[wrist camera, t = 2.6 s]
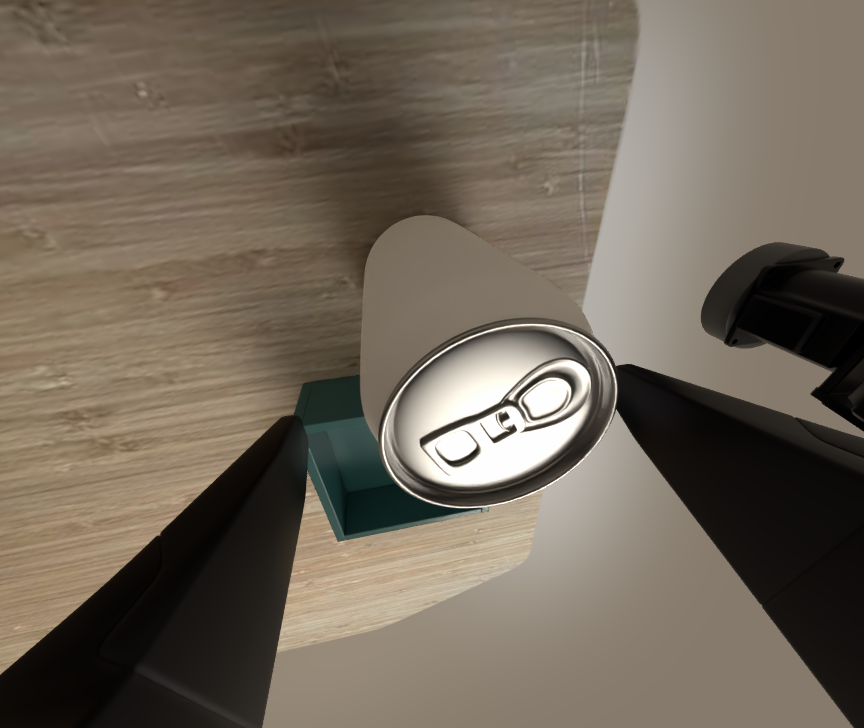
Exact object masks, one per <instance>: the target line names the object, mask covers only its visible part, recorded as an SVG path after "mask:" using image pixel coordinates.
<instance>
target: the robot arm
mask: <svg viewBox="0 0 864 728" xmlns="http://www.w3.org/2000/svg"><path fill="white" fill-rule="evenodd" d="M843 263H844V258H841V257H825V258H817V259H809V260H801V261H793V262H784V263H776V264H769V265H766V266H765V267H763V268H762V269H761V271H760V273H759V274H758V276H757V278H756V280H755V282H754V284H753V286H752V288H751V290H750V292H749V294H748V296H747V298H746V300H745V301H744V303H743V305H742V307H741V309H740V311H739V313H738V315H737V317H736V319H735V321H734V323H733V325H732V327H731V328H730V330H729V332H728V334H727V336H726V338H725V340H724V343H725V345H728V346H730V347H734V346H740V345H747V344H753V343H760V342H765V343H768V344H770V345H772V346H774V347H777V348H779V349H781V350H784V351H786V352H788V353H791V354H793V355H795V356H797V357H800V358H802V359H804V360H806V361H809V362H811V363H813V364H815V365H818V366H820V367H822V368H825V369H827V370H829V371H831V372H832V374H831V375H830V376H829V377H828V378H827V379H826V380H825V381H824V382H823V383H822V384H821V385H820V386H819V387H816V388H815V390H813V391H812V393H811V395H812V396H814V397H815V398H817V399H818V400H820V401H821V402H822V404H823V405H825V406H826V407H828V408H829V409H831V410H832V411H834V412H835V413H837V414H838V415H840V416H841V417H843V418H844V419H846V420H847V421H849V422H850V423H852V424H853V425H855V426H856V427H858V428H859V429H861V430H862V431H864V279H861V278H857V277H853V276H848V275H844V274H839V273H837V272H838V271H839V269H840V267H841V266H842V264H843ZM616 369H617V372H618V377H619V398H618V404H617V408H616V409H617V411H618V412H619V414H620V416H621V417H622V419H623V421H624V422H625V424H626V425H627V427H628V429H629V430H630V432H631V433H632V435H633V437H634V438H635V440H636V441H637V442H638V444H639V445H640V447H641V448H642V449H643V450H644V452H645V453H646V454H647V456H648V457H649V458H650V460H651V461H652V462H653V464H654V465H655V466H656V468H657V469H658V470H659V471H660V473H661V474H662V475H663V477H664V478H665V479H666V481H667V482H668V483H669V485H670V486H671V487H672V489H673V490H674V491H675V493H676V494H677V495H678V497H679V498H680V499H681V501H682V502H683V503H684V504H685V506H686V507H687V508H688V510H689V511H690V512H691V514H692V515H693V516H694V518H695V519H696V520H697V522H698V523H699V524H700V525H701V527H702V528H703V529H704V531H705V532H706V533H707V535H708V536H709V537H710V539H711V540H712V541H713V543H714V544H715V545H716V547H717V548H718V549H719V550H720V552H721V553H722V554H723V556H724V557H725V558H726V560H727V561H728V562H729V564H730V565H731V566H732V568H733V569H734V570H735V572H736V573H737V574H738V576H739V577H740V578H741V580H742V581H743V582H744V583H745V585H746V586H747V587H748V589H749V590H750V591H751V593H752V594H753V595H754V596H755V598H756V599H757V601H758V602H759V603H760V604H761V605H762V607H763V609H764V610H765V612H766V613H767V614H768V616H769V617H770V618H771V620H772V621H773V622H774V623H775V624H776V626H777V627H778V629H779V630H780V631H781V633H782V634H783V635H784V637H785V638H786V639H787V641H788V642H789V643H790V644H791V646H792V647H793V649H794V650H795V651H796V652H797V653H798V655H799V656H800V658H801V659H802V660H803V661H804V663H805V664H806V666H807V667H808V668H809V670H810V671H811V672H812V673H813V675H814V676H815V678H816V679H817V680H818V681H819V683H820V684H821V685H822V687H823V688H824V689H825V691H826V692H827V693H828V695H829V696H830V697H831V699H832V700H833V701H834V702H835V704H836V705H837V707H838V708H839V709H840V710H841V712H842V713H843V714H844V716H845V717H846V718H847V720H848V721H849V722H850V724H851V725H852V726H853V727H854V728H864V438H861V437H857V436H854V435H851V434H847V433H844V432H841V431H838V430H834V429H831V428H828V427H825V426H822V425H818V424H816V423H812V422H809V421H806V420H803V419H799V418H794V417H792V416H790V415H787V414H784V413H781V412H778V411H775V410H772V409H769V408H766V407H763V406H759V405H756V404H753V403H750V402H747V401H744V400H741V399H738V398H734V397H731V396H728V395H725V394H722V393H719V392H716V391H713V390H710V389H707V388H703V387H700V386H697V385H694V384H691V383H688V382H685V381H682V380H678V379H675V378H672V377H669V376H666V375H663V374H660V373H657V372H654V371H651V370H648V369H644V368H641V367H638V366H635V365H632V364H625V365H618V366H616ZM308 451H309V440H308V436H307V433H306V431H305V428H304V426H303V423H302V420H301V418H300V417H299V416H298V415H290V416H284V417H281V418H280V419H279V420H278V421H277V422H276V423H275V424H274V425H273V426H272V427H270V428H269V429H268V430H267V431H266V432H265V433H264V434H263V435H262V436H261V437H260V438H259V439H258V440H257V441H256V442H255V443H254V444H253V445H252V446H251V447H250V448H248V449H247V450H246V451H245V452H244V453H243V454H242V455H241V456H240V457H239V458H238V459H237V460H236V461H235V462H234V463H233V464H232V465H231V466H230V467H229V468H228V469H226V470H225V471H224V472H223V473H222V474H221V475H220V476H219V477H218V478H217V479H216V480H215V481H214V482H213V483H212V484H211V485H210V486H209V487H208V488H207V489H206V490H204V491H203V492H202V493H201V494H200V495H199V496H198V497H197V498H196V499H195V500H194V501H193V502H192V503H191V504H190V505H189V506H188V507H187V508H186V509H185V510H184V511H182V512H181V513H180V514H179V515H178V516H177V517H176V518H175V519H174V520H173V521H172V522H171V523H170V524H169V525H168V526H167V527H166V528H165V529H164V530H163V531H162V532H161V534H160V536H156V537H155V538H154V539H153V540H152V541H151V542H150V543H149V544H148V545H147V546H146V547H145V548H144V549H142V550H141V551H140V552H139V553H138V554H137V555H136V556H135V557H134V558H133V559H132V560H131V561H130V562H129V563H127V564H126V565H125V566H124V567H123V568H122V569H121V570H120V571H119V572H118V573H117V574H116V575H115V576H113V577H112V578H111V579H110V580H109V581H108V582H107V583H106V584H105V585H104V586H102V587H101V588H100V589H99V590H98V591H97V592H96V593H94V594H93V595H92V596H91V597H90V598H89V599H88V600H86V601H85V602H84V603H83V604H82V605H81V606H80V607H78V608H77V609H76V610H75V611H74V612H73V613H72V614H71V615H69V616H68V617H67V618H66V619H65V620H64V621H62V622H61V623H60V624H59V625H58V626H57V627H55V628H54V629H53V630H52V631H51V632H50V633H48V634H47V635H46V636H45V637H44V638H43V639H41V640H40V641H39V642H38V643H37V644H36V645H34V646H33V647H32V648H31V649H30V650H29V651H28V652H26V653H25V654H24V655H23V656H22V657H21V658H19V659H18V660H17V661H16V662H15V663H14V664H12V665H11V666H10V667H9V668H8V669H7V670H5V671H4V672H3V673H2V674H1V675H0V728H262V725H263V720H264V715H265V709H266V704H267V699H268V694H269V688H270V683H271V678H272V672H273V667H274V662H275V657H276V651H277V646H278V641H279V636H280V630H281V625H282V620H283V614H284V609H285V604H286V598H287V593H288V588H289V583H290V577H291V572H292V567H293V561H294V556H295V551H296V545H297V540H298V535H299V530H300V524H301V519H302V514H303V508H304V502H305V494H306V481H307V466H308Z"/></svg>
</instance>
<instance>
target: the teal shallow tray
mask: <svg viewBox="0 0 864 728" xmlns="http://www.w3.org/2000/svg"><path fill="white" fill-rule="evenodd" d="M294 415H298V416H299V417H300V418H301V420H302V423H303V426H304V428H305V431H306V433H307V436H308V440H309V451H308V466H307V470H308V473H309V475H310V477H311V480H312V482H313V484H314V487H315V489H316V491H317V494H318V496H319V498H320V501H321V503H322V505H323V508H324V510H325V512H326V515H327V517H328V519H329V522H330V524H331V527H332V529H333V531H334V534H335V536H336V538H337V541H338V542H339V541H344V540H349V539H354V538H359V537H364V536H369V535H374V534H379V533H384V532H389V531H394V530H399V529H404V528H409V527H414V526H419V525H424V524H429V523H434V522H439V521H443V520H448V519H453V518H458V517H463V516H468V515H473V514H478V513H481V512H482V513H483V512H488V511H489V507H481V508H451V507H444V506H439V505H434V504H431V503H428V502H425V501H422V500H420V499H418V498H416V497H414V496H412V495H410V494H409V493H407V492H406V491H404V490H403V489H402V488H400V487H399V486H398V485H397V484H396V483H395V482H394V481H393V479H392V478H391V477H390V475H389V474H388V472H387V471H386V469H385V467H384V465H383V463H382V460H381V457H380V453H379V447H378V441H377V440H376V439H375V437H374V435H373V434H372V432H371V430H370V428H369V426H368V424H367V422H366V419H365V416H364V412H363V408H362V402H361V394H360V376H354V377H347V378H340V379H333V380H326V381H319V382H312V383H305V384H303V386H302V389H301V393H300V396H299V399H298V403H297V406H296V409H295V412H294Z"/></svg>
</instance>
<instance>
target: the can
mask: <svg viewBox="0 0 864 728" xmlns="http://www.w3.org/2000/svg"><path fill="white" fill-rule="evenodd" d="M360 394H361V402H362V408H363V412H364V416H365V419H366V422H367V424H368V426H369V428H370V430H371V432H372V434H373V435H374V437H375V439H376V440H377V441H378V447H379V453H380V457H381V460H382V463H383V465H384V467H385V469H386V471H387V472H388V474H389V475H390V477H391V478H392V479H393V481H394V482H395V483H396V484H397V485H398V486H399V487H400V488H402V489H403V490H404V491H406V492H407V493H409V494H410V495H412V496H414V497H416V498H418V499H420V500H422V501H425V502H428V503H431V504H434V505H439V506H444V507H451V508H481V507H489V506H495V505H500V504H504V503H508V502H511V501H514V500H518V499H520V498H523V497H526V496H528V495H531V494H533V493H535V492H537V491H540V490H542V489H543V488H545V487H547V486H549V485H551V484H553V483H554V482H556V481H557V480H559V479H560V478H562V477H563V476H565V475H566V474H567V473H569V472H570V471H571V470H573V469H574V468H575V467H576V466H578V465H579V464H580V463H581V462H582V461H583V460H584V459H585V458H586V457H587V456H588V455H589V454H590V453H591V452H592V450H593V449H594V448H595V447H596V446H597V445H598V443H599V442H600V440H601V439H602V438H603V436H604V435H605V433H606V431H607V429H608V428H609V426H610V424H611V421H612V419H613V417H614V414H615V411H616V408H617V404H618V398H619V377H618V372H617V369H616V366H615V363H614V361H613V359H612V357H611V355H610V354H609V352H608V351H607V349H606V348H605V347H604V346H603V345H602V344H601V343H600V342H599V341H598V340H597V339H596V338H595V337H594V335H593V333H592V330H591V327H590V325H589V323H588V321H587V319H586V317H585V315H584V313H583V312H582V311H581V309H580V308H579V307H578V305H577V304H576V303H575V302H574V301H573V300H572V299H571V298H570V297H569V296H568V295H567V294H566V293H564V292H563V291H562V290H561V289H559V288H558V287H557V286H555V285H554V284H552V283H551V282H550V281H548V280H547V279H545V278H544V277H542V276H541V275H539V274H537V273H536V272H534V271H533V270H531V269H530V268H528V267H527V266H525V265H523V264H522V263H520V262H519V261H517V260H515V259H514V258H512V257H511V256H509V255H507V254H506V253H504V252H503V251H501V250H499V249H498V248H496V247H495V246H493V245H491V244H490V243H488V242H486V241H485V240H483V239H482V238H480V237H478V236H477V235H475V234H473V233H472V232H470V231H468V230H467V229H465V228H463V227H462V226H460V225H458V224H456V223H454V222H452V221H450V220H448V219H445V218H442V217H438V216H432V215H420V216H414V217H409V218H406V219H404V220H401V221H399V222H397V223H396V224H394V225H392V226H391V227H389V228H388V229H387V230H386V231H385V232H384V233H383V234H382V235H381V236H380V237H379V238H378V239H377V241H376V242H375V244H374V245H373V247H372V249H371V251H370V253H369V256H368V259H367V262H366V266H365V273H364V287H363V307H362V330H361V359H360Z"/></svg>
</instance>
